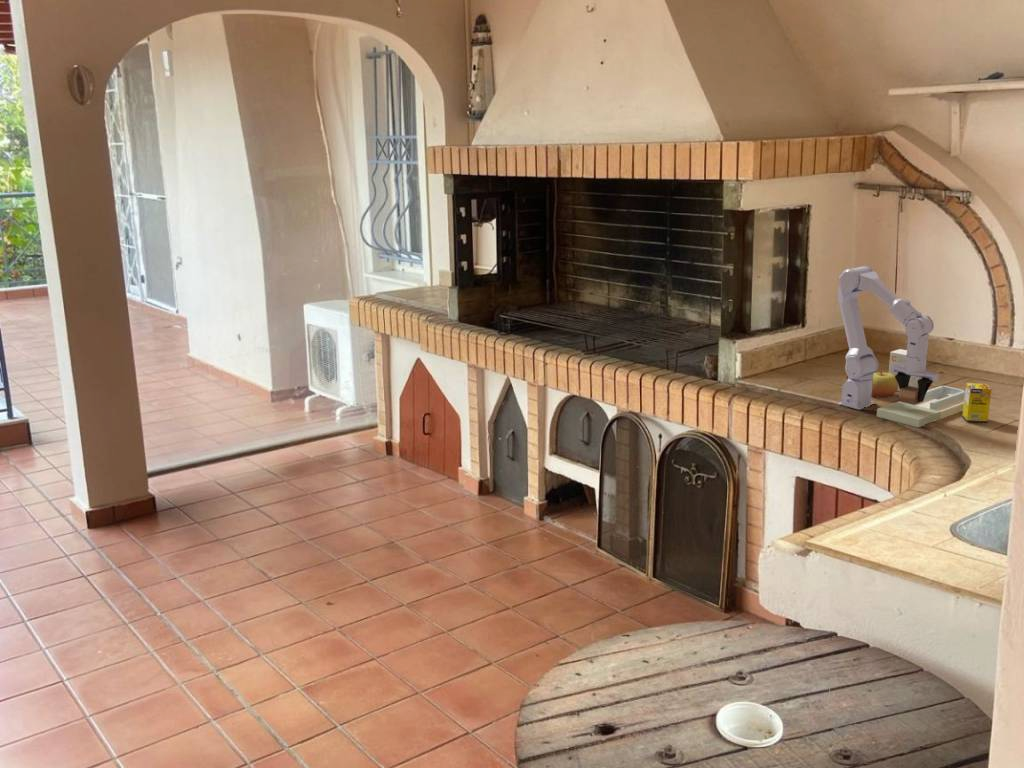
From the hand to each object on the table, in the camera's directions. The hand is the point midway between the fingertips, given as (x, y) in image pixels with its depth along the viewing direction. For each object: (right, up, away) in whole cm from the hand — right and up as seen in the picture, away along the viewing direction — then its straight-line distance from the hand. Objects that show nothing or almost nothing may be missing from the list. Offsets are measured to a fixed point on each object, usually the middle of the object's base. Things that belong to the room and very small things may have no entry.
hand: (912, 398), depth 296 cm
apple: (0, +1, +24) cm, 24 cm away
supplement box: (+18, -7, -3) cm, 19 cm away
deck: (+7, -4, +7) cm, 10 cm away
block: (-1, -1, 0) cm, 1 cm away
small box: (+9, +2, +30) cm, 31 cm away
